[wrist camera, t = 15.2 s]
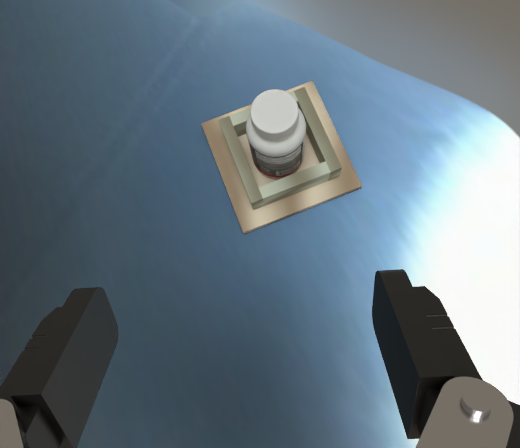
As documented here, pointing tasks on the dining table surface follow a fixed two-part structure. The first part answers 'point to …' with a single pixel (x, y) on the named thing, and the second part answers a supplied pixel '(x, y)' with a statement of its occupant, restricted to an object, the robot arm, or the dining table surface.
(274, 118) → the pill bottle
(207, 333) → the dining table surface
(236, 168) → the holder
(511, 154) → the dining table surface
